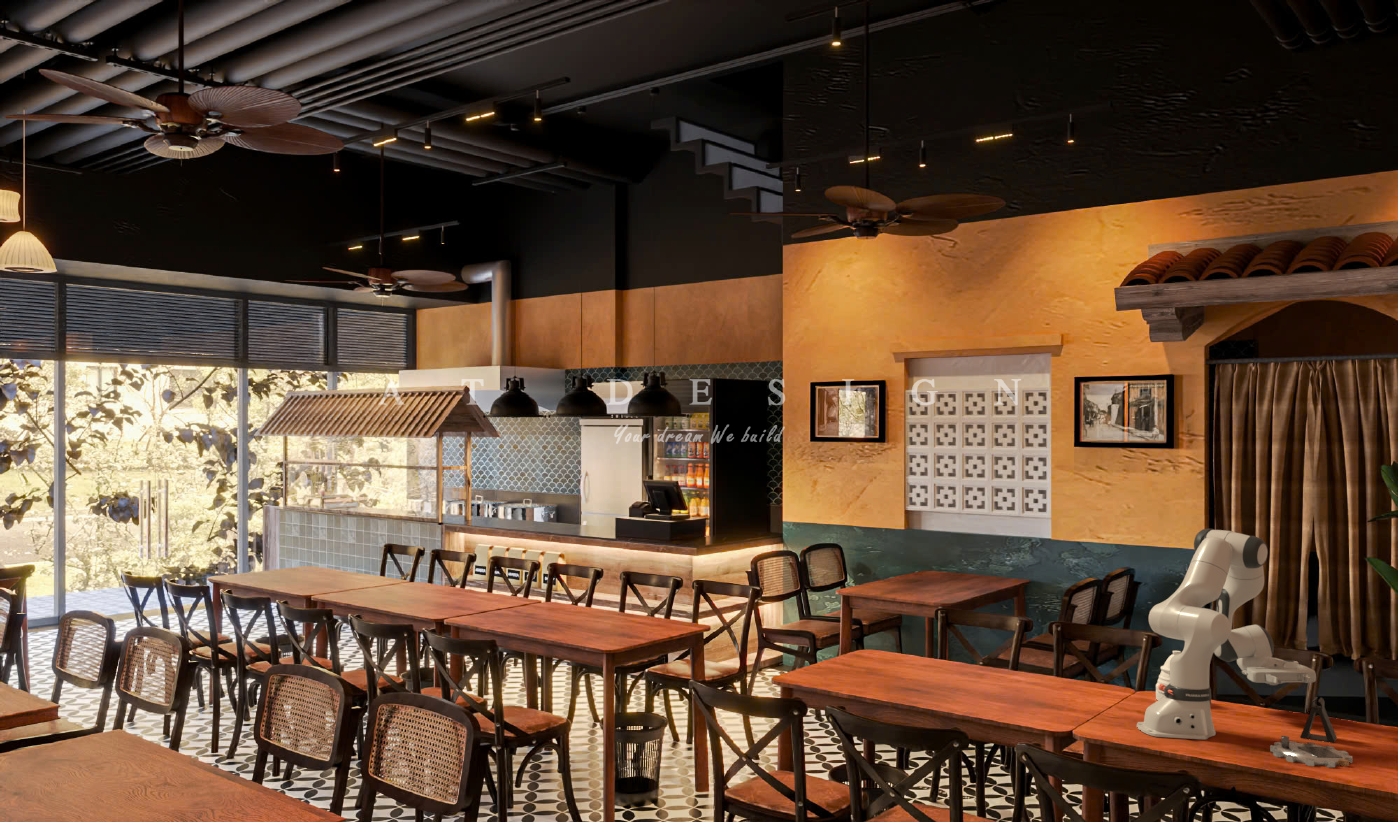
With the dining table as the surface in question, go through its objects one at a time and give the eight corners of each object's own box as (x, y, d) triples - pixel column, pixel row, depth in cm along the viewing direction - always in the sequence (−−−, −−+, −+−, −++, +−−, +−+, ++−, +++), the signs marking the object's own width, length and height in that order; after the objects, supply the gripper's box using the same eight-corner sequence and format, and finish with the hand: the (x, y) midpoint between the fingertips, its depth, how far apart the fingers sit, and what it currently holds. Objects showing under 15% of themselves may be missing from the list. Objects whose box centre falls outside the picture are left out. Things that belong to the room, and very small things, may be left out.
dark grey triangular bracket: (1300, 738, 311) (1299, 698, 311) (1303, 733, 316) (1302, 694, 316) (1334, 743, 305) (1333, 703, 306) (1337, 738, 310) (1336, 699, 310)
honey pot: (1200, 707, 348) (1200, 654, 348) (1160, 705, 350) (1160, 652, 351) (1190, 698, 360) (1189, 647, 361) (1151, 696, 363) (1151, 645, 363)
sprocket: (1294, 767, 282) (1294, 750, 282) (1256, 745, 302) (1256, 730, 302) (1368, 768, 281) (1368, 751, 282) (1325, 746, 302) (1325, 731, 302)
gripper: (1238, 661, 339) (1260, 670, 325) (1301, 660, 338) (1325, 670, 325) (1239, 680, 339) (1260, 690, 325) (1301, 680, 338) (1325, 690, 324)
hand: (1293, 680), depth 325 cm, fingers open, 8 cm apart
